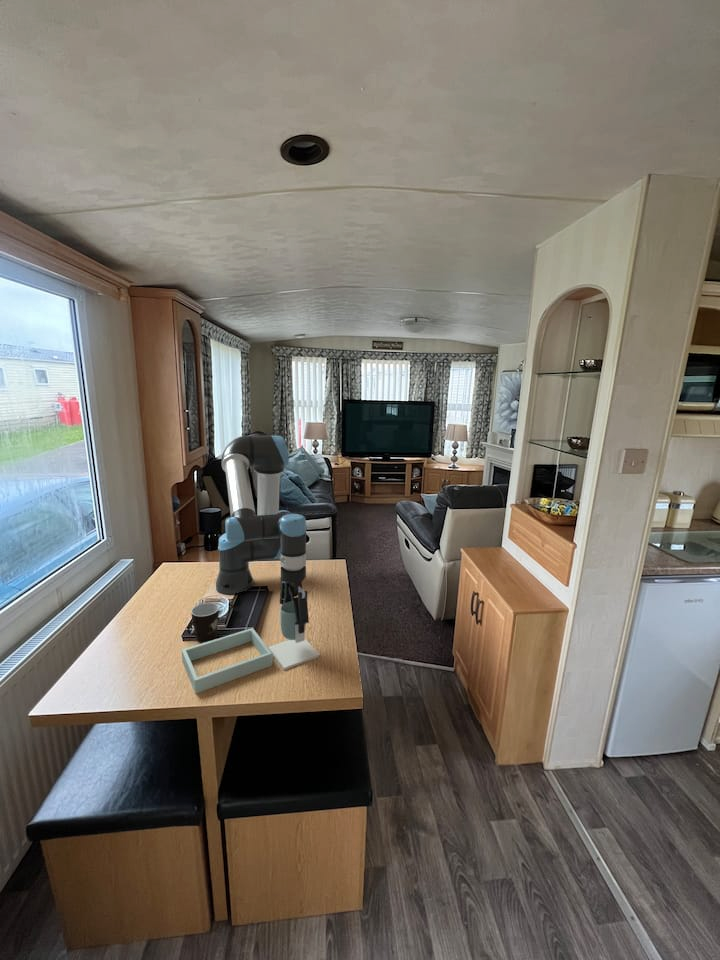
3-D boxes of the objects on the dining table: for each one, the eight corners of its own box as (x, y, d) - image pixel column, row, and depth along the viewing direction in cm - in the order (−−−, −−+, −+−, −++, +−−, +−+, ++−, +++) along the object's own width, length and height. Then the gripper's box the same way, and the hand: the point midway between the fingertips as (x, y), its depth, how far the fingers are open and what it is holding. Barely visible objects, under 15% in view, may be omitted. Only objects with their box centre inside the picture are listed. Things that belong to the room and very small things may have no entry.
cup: (276, 641, 124) (276, 611, 122) (286, 627, 131) (286, 599, 129) (301, 645, 122) (301, 615, 120) (309, 631, 130) (309, 602, 128)
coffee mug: (213, 626, 141) (212, 600, 139) (224, 637, 135) (223, 609, 133) (179, 639, 133) (177, 611, 131) (189, 651, 127) (188, 622, 125)
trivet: (268, 649, 130) (268, 647, 129) (302, 637, 136) (302, 635, 136) (284, 670, 120) (284, 667, 120) (319, 656, 127) (319, 654, 127)
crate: (182, 661, 122) (181, 649, 122) (253, 638, 135) (252, 627, 134) (195, 693, 110) (194, 680, 109) (272, 665, 122) (272, 653, 121)
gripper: (268, 556, 128) (269, 622, 133) (297, 582, 112) (297, 655, 116) (289, 552, 133) (290, 615, 137) (321, 575, 116) (320, 647, 120)
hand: (293, 634), depth 127 cm, fingers closed on cup, 8 cm apart
